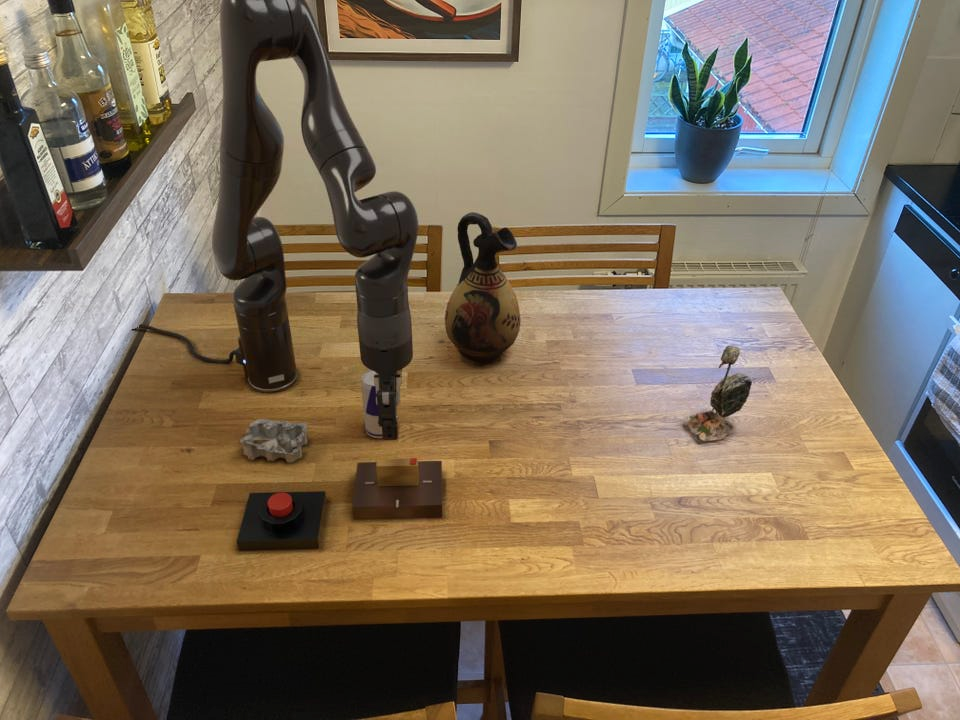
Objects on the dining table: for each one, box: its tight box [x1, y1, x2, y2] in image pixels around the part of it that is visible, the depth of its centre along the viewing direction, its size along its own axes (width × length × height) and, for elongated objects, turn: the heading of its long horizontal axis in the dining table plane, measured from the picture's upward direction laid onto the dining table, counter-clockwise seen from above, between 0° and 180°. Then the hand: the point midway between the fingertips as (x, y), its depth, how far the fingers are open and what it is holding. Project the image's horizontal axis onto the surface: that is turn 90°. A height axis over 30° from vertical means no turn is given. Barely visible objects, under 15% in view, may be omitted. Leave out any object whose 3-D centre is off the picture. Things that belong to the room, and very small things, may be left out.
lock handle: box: [376, 457, 419, 486], centre depth 121 cm, size 6×2×5 cm, turn 93°
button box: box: [236, 490, 328, 552], centre depth 117 cm, size 12×10×4 cm
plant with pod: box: [683, 345, 755, 443], centre depth 133 cm, size 8×11×20 cm
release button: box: [268, 493, 293, 517], centre depth 116 cm, size 4×4×2 cm
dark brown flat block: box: [351, 460, 443, 521], centre depth 123 cm, size 14×11×3 cm
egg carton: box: [238, 418, 308, 464], centre depth 131 cm, size 11×8×4 cm
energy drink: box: [360, 369, 383, 439], centre depth 134 cm, size 5×5×12 cm
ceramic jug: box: [444, 211, 522, 367], centre depth 149 cm, size 17×15×30 cm
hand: (391, 420), depth 116 cm, fingers open, 8 cm apart
